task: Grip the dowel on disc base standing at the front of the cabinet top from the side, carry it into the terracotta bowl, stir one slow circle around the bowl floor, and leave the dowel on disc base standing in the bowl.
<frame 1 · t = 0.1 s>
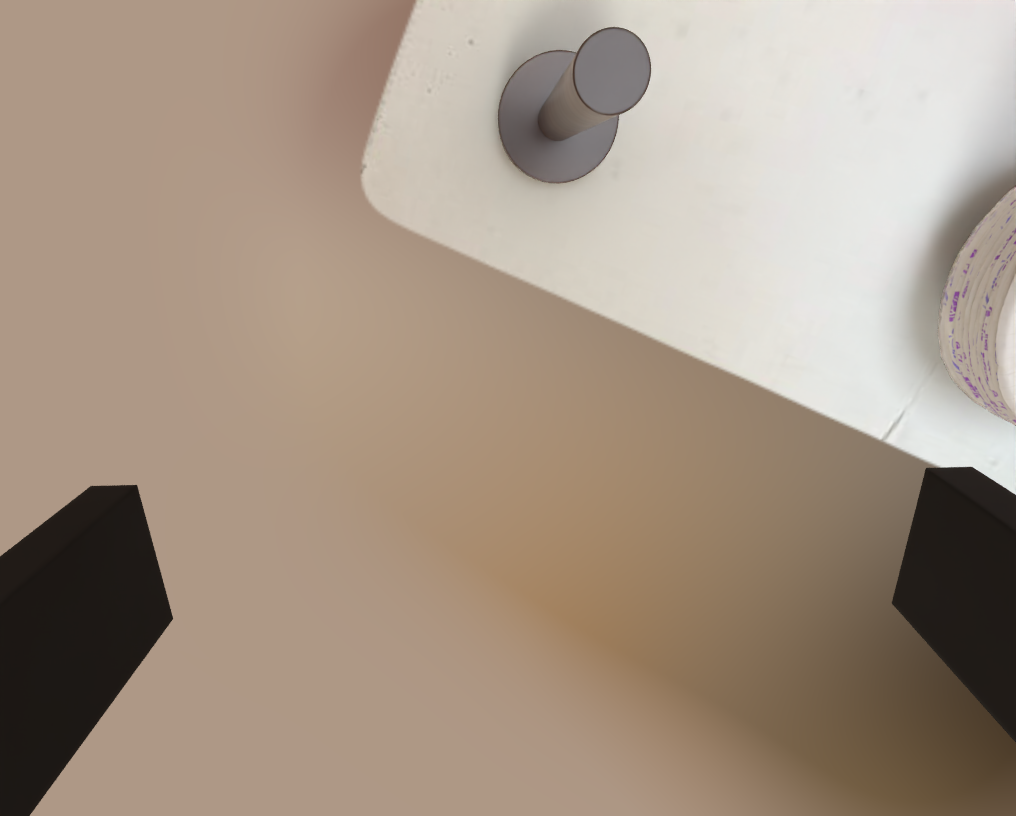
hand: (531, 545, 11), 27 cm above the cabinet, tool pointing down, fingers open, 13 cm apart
dowel on disc base: (555, 121, 32), on the cabinet
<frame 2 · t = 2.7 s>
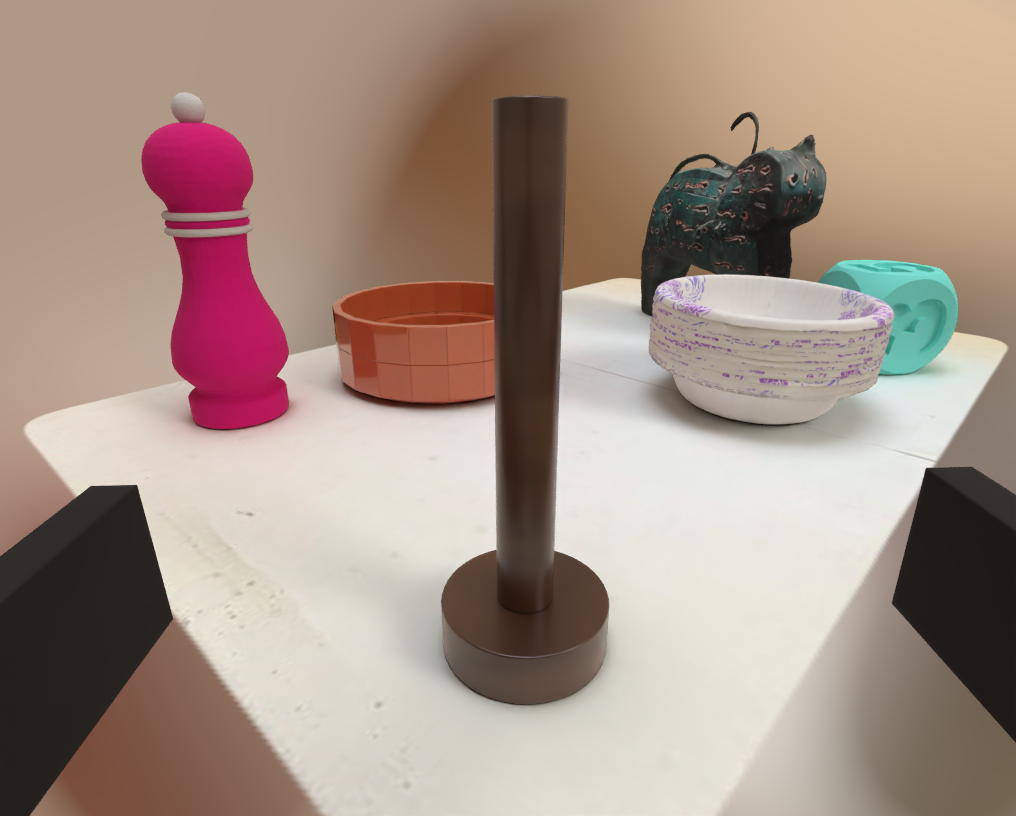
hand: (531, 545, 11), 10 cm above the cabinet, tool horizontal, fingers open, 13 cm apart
dowel on disc base: (524, 638, 23), on the cabinet
decorative dice: (866, 362, 54), on the cabinet
ceramic cat: (701, 332, 63), on the cabinet
paper bowls: (750, 402, 45), on the cabinet
bowl: (442, 372, 51), on the cabinet
pepper mill: (242, 414, 43), on the cabinet
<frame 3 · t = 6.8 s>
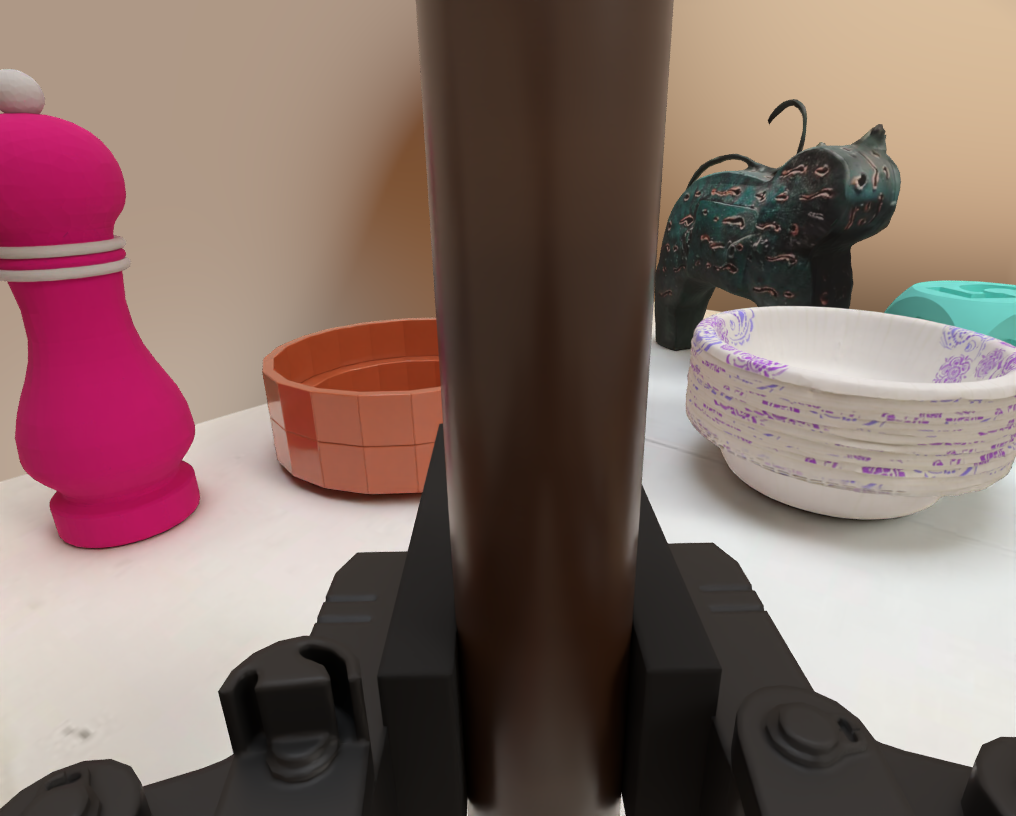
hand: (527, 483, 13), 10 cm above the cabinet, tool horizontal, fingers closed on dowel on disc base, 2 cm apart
decorative dice: (950, 409, 43), on the cabinet
ceramic cat: (732, 369, 52), on the cabinet
paper bowls: (823, 479, 34), on the cabinet
bowl: (413, 439, 39), on the cabinet
pepper mill: (134, 517, 31), on the cabinet
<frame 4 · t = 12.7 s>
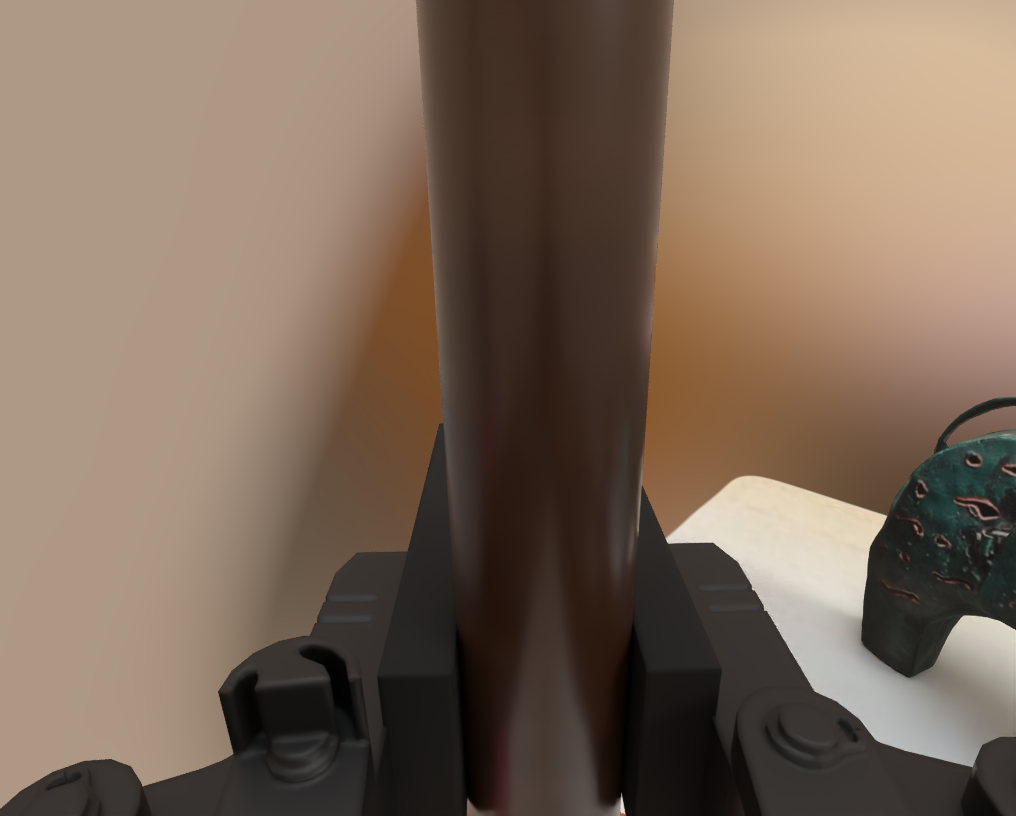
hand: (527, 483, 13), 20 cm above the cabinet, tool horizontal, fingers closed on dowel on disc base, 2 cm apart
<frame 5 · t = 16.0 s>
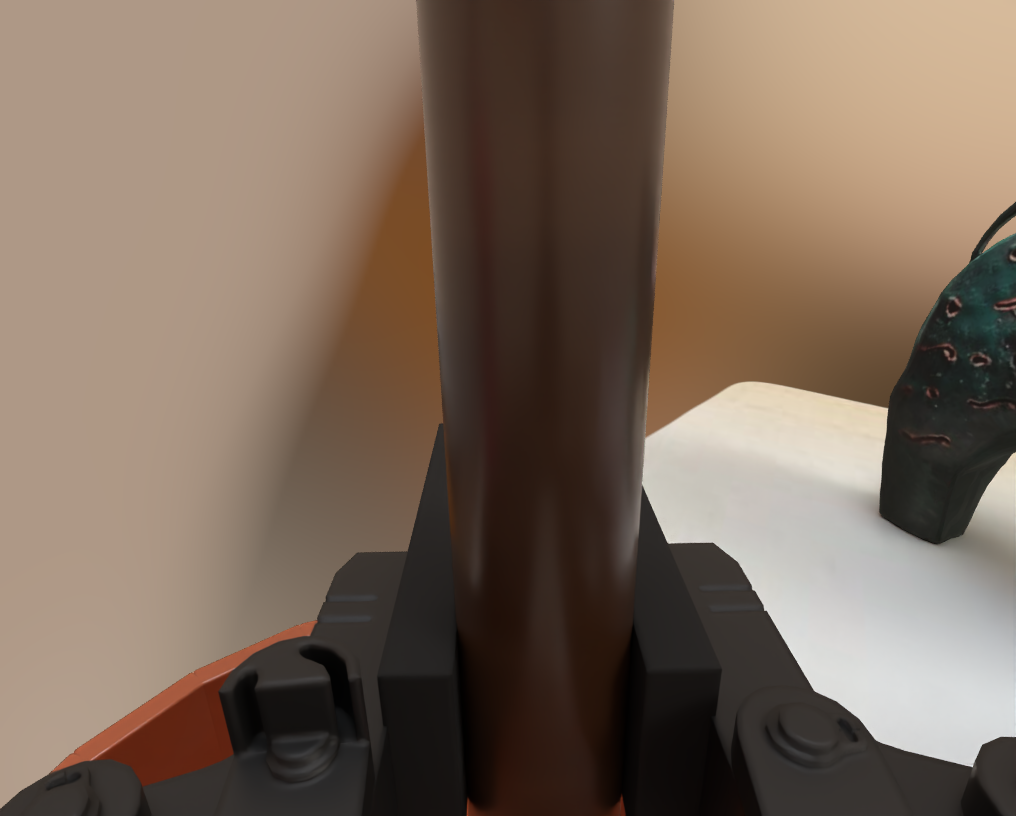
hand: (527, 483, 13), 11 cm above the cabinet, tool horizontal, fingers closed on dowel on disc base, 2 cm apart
when the fingers open (11 cm above the cabinet, at t = 19.1 s): dowel on disc base stays where it is, resting on bowl.
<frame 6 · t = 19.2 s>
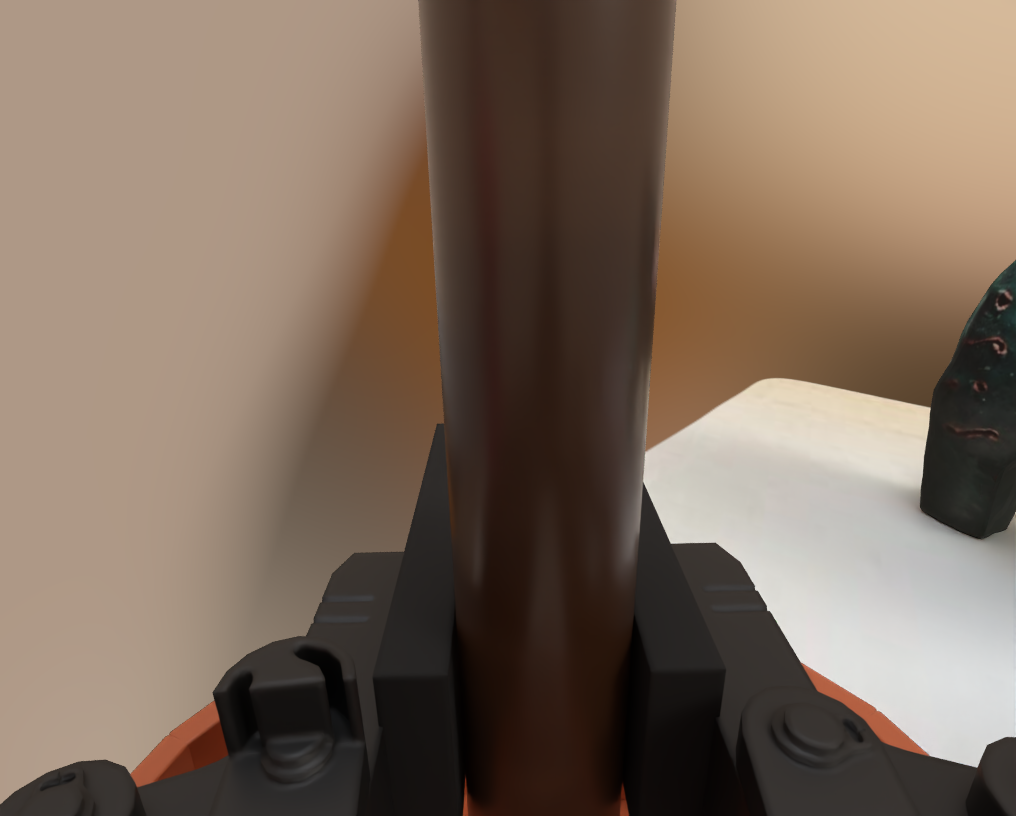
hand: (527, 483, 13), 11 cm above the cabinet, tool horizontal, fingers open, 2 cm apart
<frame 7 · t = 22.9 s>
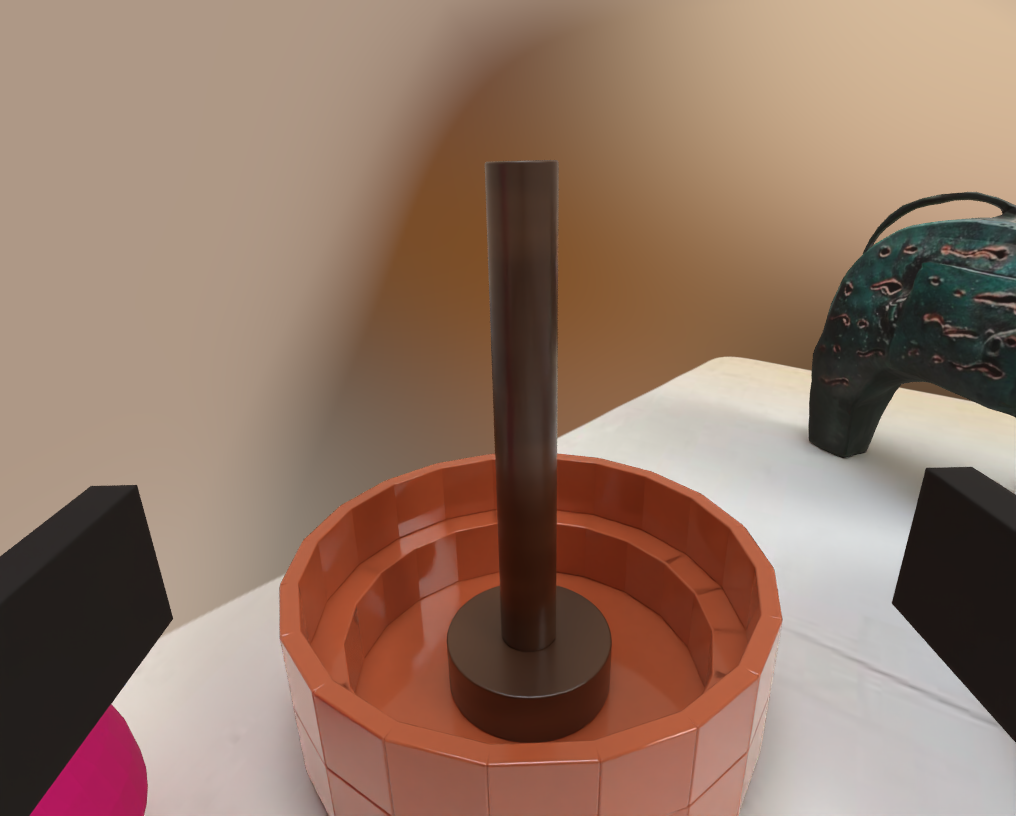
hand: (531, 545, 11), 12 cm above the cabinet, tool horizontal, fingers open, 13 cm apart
dowel on disc base: (529, 674, 23), point 1 cm above the cabinet, touching bowl
ceramic cat: (950, 500, 36), on the cabinet
bowl: (528, 686, 24), on the cabinet
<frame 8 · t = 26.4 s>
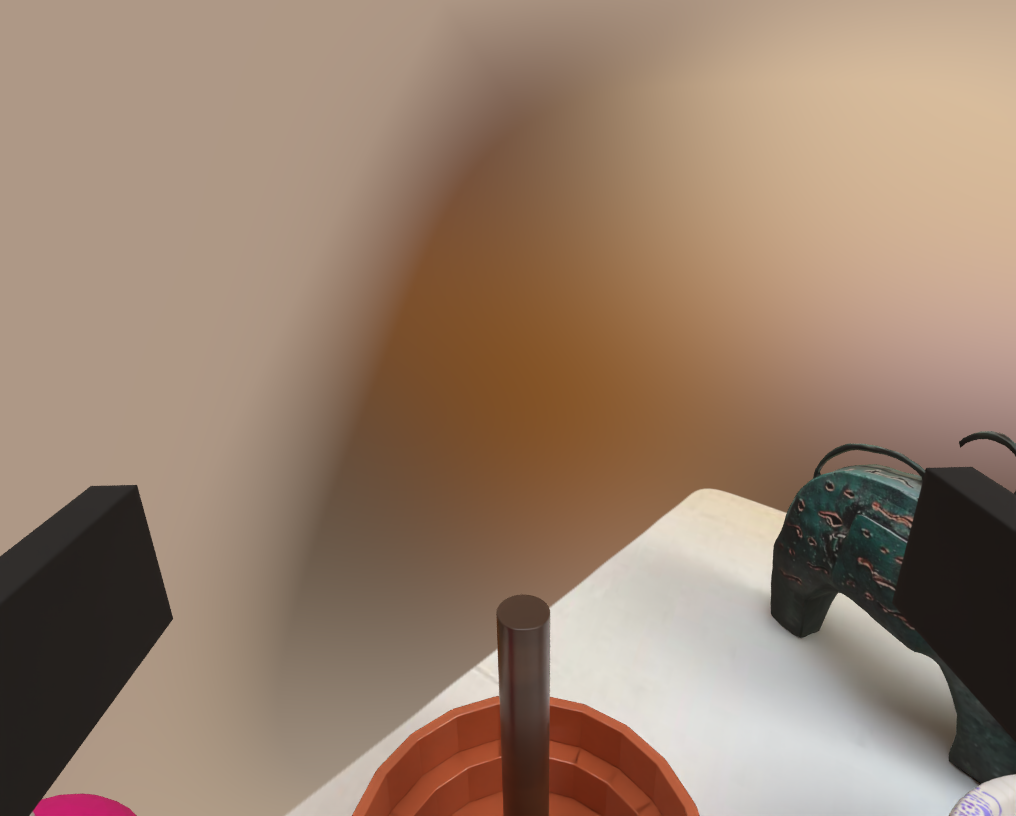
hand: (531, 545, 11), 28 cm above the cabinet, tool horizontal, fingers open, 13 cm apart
ceramic cat: (884, 695, 42), on the cabinet
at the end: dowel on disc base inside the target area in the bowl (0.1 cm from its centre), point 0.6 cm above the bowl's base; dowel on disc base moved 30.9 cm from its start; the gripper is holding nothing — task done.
